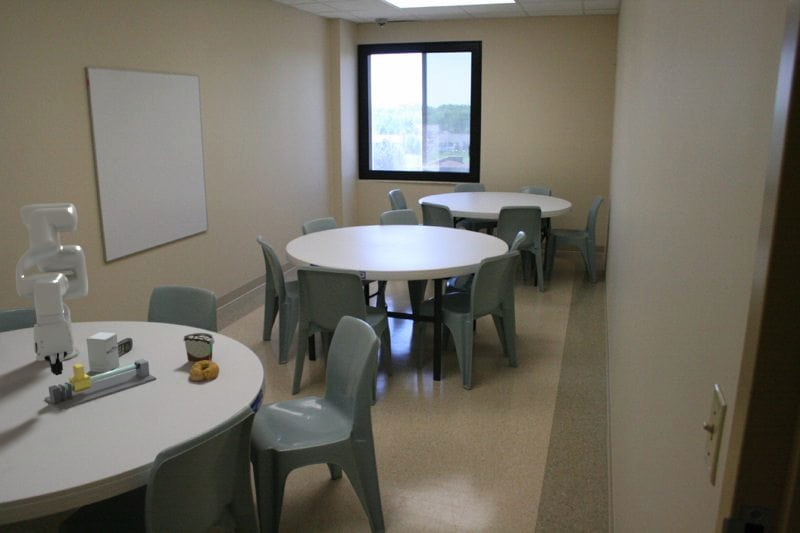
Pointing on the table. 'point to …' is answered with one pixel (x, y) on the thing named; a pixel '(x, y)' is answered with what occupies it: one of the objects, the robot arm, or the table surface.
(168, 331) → the table surface
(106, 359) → the supplement box
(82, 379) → the sleeve
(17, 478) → the table surface
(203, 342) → the food container
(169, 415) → the table surface
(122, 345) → the mobile phone
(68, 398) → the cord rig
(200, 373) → the bagel
